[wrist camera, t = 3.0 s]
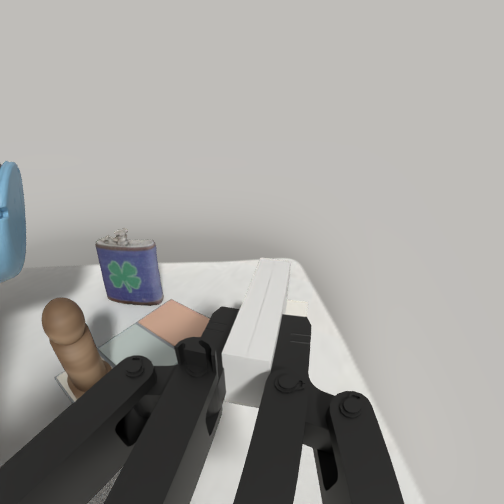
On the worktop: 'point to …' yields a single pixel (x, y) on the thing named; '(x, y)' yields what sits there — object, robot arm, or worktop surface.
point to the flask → (130, 269)
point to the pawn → (73, 345)
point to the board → (150, 338)
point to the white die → (296, 308)
